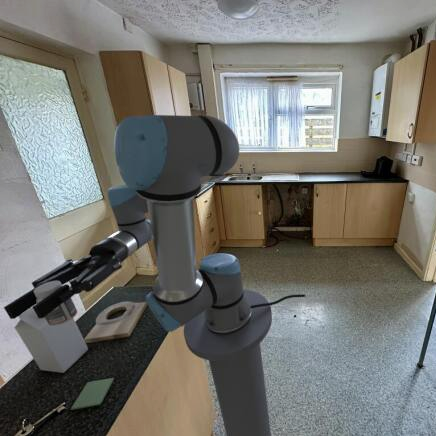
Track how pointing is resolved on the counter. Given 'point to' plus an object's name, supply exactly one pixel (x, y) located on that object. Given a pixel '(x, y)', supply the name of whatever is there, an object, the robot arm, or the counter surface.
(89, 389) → the pad
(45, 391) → the counter surface
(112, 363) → the counter surface
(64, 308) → the pill bottle
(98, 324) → the board
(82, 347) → the milk carton
